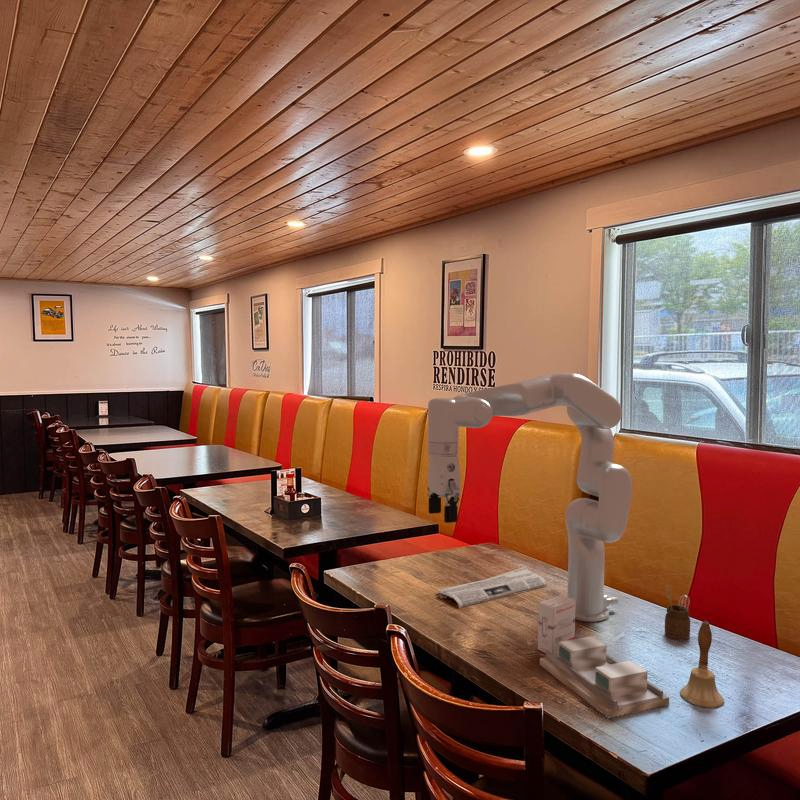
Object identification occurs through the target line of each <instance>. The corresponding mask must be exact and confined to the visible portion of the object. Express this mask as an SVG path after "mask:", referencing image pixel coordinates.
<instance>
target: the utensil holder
mask: <svg viewBox="0 0 800 800" xmlns="http://www.w3.org/2000/svg"><path fill="white" fill-rule="evenodd" d="M664 587H665V593H666V598H667V599H668V601H669V605H668V606H667V608H666V613H665V616H664V617H665V618H664V633H665V636H667V637H668V638H671V639H674V640H679V641H684V640H688V639H689V638H690V635H691V618H690V610H689V606H690V598H689V596H688V595H686V594H683V595H681V596H680V599H679V601H678V604H672V597H673V596H672V591H671V588H670V587H671V586H670V585H669V584H667V585H665V586H664ZM681 597H682V600H684V598H685V597H686V600H687V601H688V602H687V601H685V604H687V603H688V604H687V607H686V606H685V605H683V603H684V602H683V601H680V600H681ZM680 602H681V603H680Z"/></svg>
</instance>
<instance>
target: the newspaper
mask: <svg viewBox="0 0 800 800" xmlns="http://www.w3.org/2000/svg"><path fill="white" fill-rule="evenodd" d="M546 585H548V584H547V582H546V579H545V578H544V577H543V576H541V575H540V574H537V573H535V572H533V571H531V570H529V569H528V567H527V566H523V567H520V568H517V569H515V570H514V569H513V570H511V571H507V572H504V573H501V574H497V575H495V576H492V577H488V578H486V579H482V580H476V581H473V582H469V583H464V584H463V583H462V584H459V585H454V586H448V587H444V588H439V589H437V591H438V593H437V597H438V598H439V597H440V598H439V599H443V598H445V597H449V596H450V597H449V598H451V599H453V600H454V601H455V602H456V603H458V604H459V605H456V606H457V607H458V609H462V608H465V607H469V605H470V606H474V605H478V604H481V603H480V602H482V603H485V602H484V601H486V602H489V601H488V600H490V601H493V600H492V599H494V600H496V599H495V598H498V599H501V598H500V597H502V598H504V597H503V596H506V597H508V596H507V595H510V596H512V595H511V594H514V593H518V592H522V591H526V592H528V591H527V590H530V591H533V590H532V589H534V590H537V589H536V588H538V589H541V588H540V587H542V588H544V587H543V586H546ZM546 587H547V586H546ZM522 593H523V592H522ZM518 594H519V593H518ZM514 595H515V594H514ZM445 599H446V598H445ZM477 603H478V604H477ZM473 604H474V605H473Z"/></svg>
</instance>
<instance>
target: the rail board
mask: <svg viewBox="0 0 800 800" xmlns="http://www.w3.org/2000/svg"><path fill="white" fill-rule="evenodd" d="M539 666H540V667H542V668H543V669H545V670H546V671H547V672H548V673H549V674H551V675H552V676H553V677H555V678H556V679H557V680H559V682H561V683H562V684H564V686H566V687H567V688H568V687H569V689H570V690H571V689H572V690H573V691H572V690H571V691H572V692H573V693H575V692H576V693H577V694H578V695H577V694H576V693H575V694H576V695H577V696H579V695H580V696H581V697H582V698H584V699H585V700H586V701H587V702H589V703H590V704H591V705H593V706H594V707H595V708H597V709H598V710H599V711H601V712H602V713H603V714H604V715H605V716H607V717H613V716H617V717H620V716H619V715H621V716H625V715H624V714H626V715H629V713H630V714H634V713H633V712H635V713H638V712H637V711H639V712H643V711H648V710H652V709H655V708H661V707H665V706H670V697H669V696H668V695H666V694H664V690H663V689H661V688H659V687H658V686H656V685H655V684H653V683H652V682H650V681H649V680H648V670H646V669H645V668H644V667H642V666H640V665H639V664H638V663H635V662H634V661H632V660H627V661H622V662H620V661H618V660H616V659H615V658H614V657H611V656H610V655H608V654H607V644H606V643H604V642H602V641H601V640H599V639H598V638H596V637H594V636H593V635H592V636H586V637H580V638H575V639H573V640H568V641H562V642H559V652H558V653H552V652H550V651H549V650H546V653H545V656H544V657H540V658H539ZM580 696H579V697H580ZM581 697H580V698H581ZM582 698H581V699H582ZM584 699H583V700H584ZM585 700H584V701H585ZM586 701H585V702H586ZM587 702H586V703H587ZM589 703H588V704H589ZM590 704H589V705H590ZM591 705H590V706H591ZM594 707H593V708H594ZM595 708H594V709H595ZM651 708H652V709H651ZM647 709H648V710H647ZM598 710H597V711H598ZM642 710H643V711H642ZM599 711H598V712H599ZM603 714H602V715H603ZM604 715H603V716H604ZM605 716H604V717H605ZM613 718H614V717H613Z"/></svg>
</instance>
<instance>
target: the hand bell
mask: <svg viewBox="0 0 800 800" xmlns="http://www.w3.org/2000/svg"><path fill="white" fill-rule="evenodd" d="M700 625H701V626H700V627H699V630H698V634H697V643H698V647H699V657H698V658H699V660H698V667H694V668H691V670H690V674H689V679H688V682H687V683H686V684H685V685H684V686H683V687H682V688H680V690H679V695H680V697H681V698H682V699H683V700H685V701H686V702H688V703H690V704H693V705H694V706H699V707H702V708H703V707H704V708H707V709H710V708H711V709H713V708H719V707H721V706H723V705H724V703H725V700H724V697H723V696H722V694H721V693H720V692H719V690H718V689H717V688H718V687H717V683H716V678H715V674H714V672H713V671H712V670H710V669H709V668H708V666H709V651H710V649H711V646H712V642H713V641H712V640H713V634H712V630H711V627H710V622H709V621H707V620H704V621H702V623H701V624H700Z"/></svg>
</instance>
